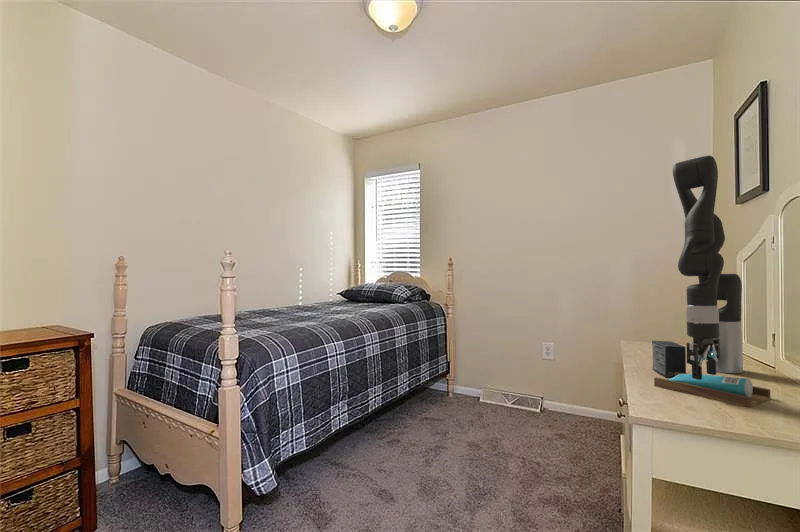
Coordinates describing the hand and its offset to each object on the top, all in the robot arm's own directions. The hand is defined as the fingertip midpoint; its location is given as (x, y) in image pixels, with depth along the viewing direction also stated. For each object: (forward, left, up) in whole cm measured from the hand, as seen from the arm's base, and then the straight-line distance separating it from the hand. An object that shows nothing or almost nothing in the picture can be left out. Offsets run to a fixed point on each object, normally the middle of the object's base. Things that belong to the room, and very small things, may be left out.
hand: (704, 376), depth 115 cm
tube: (0, +10, -1) cm, 11 cm away
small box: (-11, -15, -4) cm, 19 cm away
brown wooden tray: (0, +1, -4) cm, 4 cm away
